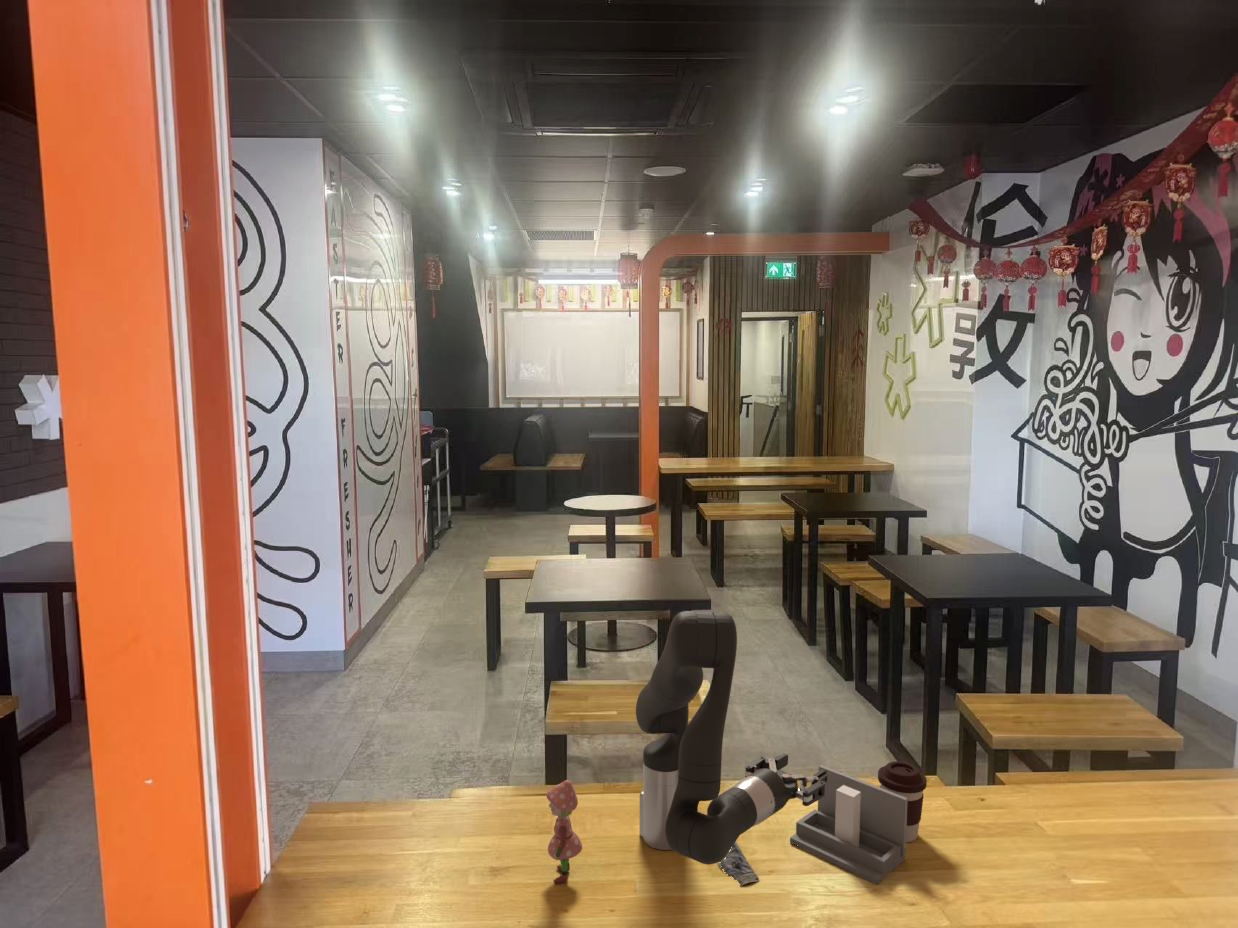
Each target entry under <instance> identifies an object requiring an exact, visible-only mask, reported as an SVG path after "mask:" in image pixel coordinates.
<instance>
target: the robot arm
mask: <svg viewBox="0 0 1238 928" xmlns="http://www.w3.org/2000/svg"><path fill="white" fill-rule="evenodd" d="M737 633H738V632H737V625H736V622H735V620H734V618H733V616H732V615H731V614H729V613H726V612H715V611H714V612H713V611H699V610H695V611H693V610H685V611H684V610H683V611H680V612H678V613H677V614H675V616H674V617H673V618H672V621H671V622H670V626H669V629H668V633H667V636H666V641H665V644H664V648H663V651H662V653H661V656H660V658H659V659H658V661H657V663H656V665H655V666H654V669H653V671H652V674H651V677H650V679H649V681H648V682H647V684H646V685H645V686H644V687H643V688H642V689H641V691H640V692H639V695H638V697H637V700H636V704H635V718H636V722H637V725H638V727H639V728H640V729H641V731H642V732H643V733H646V734H649V735H658V734H660V735H661V734H664V735H662V736H661V737H660V738H658V739H655V740H653V741H650V742H649V743H648V744H646V746H645V747H644V748H643V751H642V752H643V753H642V791H641V792H639V836H641V837H642V839H643V841H644V843H645V844H646V845H647V846H649V847H650V848H652V849H656V850H660V851H661V850H662V851H673V852H674V853H676V854H679V855H680V856H684V857H686V858H688V859H691V860H694V861H696V862H698V863H700V864H703V865H708V866H709V865H714V864H718V862H720V861H721V860H723V859H724V858H725V856H726V855H727V853H728V852H729V850H730V849H731V847H732V846H733V844H734V843H735V842H737V840H738V839H739V837H740V836H741V835H743V834H744V833H746V832H747V831H748V830H750V829H751V828H753V827H755V826H757V825H760V824H761V823H763V822H764V821H766V820H768V819H769V818H770V817H772V816H773V815H774V814H776V813H777V812H779V811H780V810H782V809H783V808H785V806H786V805H787V803H788V802H789V800H792V799H793V800H794V799H799V800H801V801H802V802H801V803H802V806H804V807H809V806H810V805H813V804H814V803H815V802H818V800H819V799H821V798H822V797H824V796H825V783H826V782H827V777H828V774H827V771H826V770H824V769H822V770H820V771H819V770H818V771H817V772H816V773H815V774H813V775H811V776H806V775H805V774H804V773H801V774H792V773H788V772H787V771H785V770H782V769H784V768H785V767H786V766H788V764H789V755H788V754H787V753H782V754H780V755H777V756H776V757H774V758H773V757H772V758H771V757H769V758H768V759H766V757H765V755H763V756H762V755H760V756H758V757H756V758H755V759H754V760H752V761H751V762H749V763H748V764H746V765H745V769H744V772H745V773H744V774H745V775H744V776H745V777H744V778H742V779H741V780H739V781H737V782H736V783H735V784H734V785H733V786H731V787H730V788H729V789H727V790H725V791H724V792H722V793H721V794H720V792H721V782H722V781H721V779H722V778H721V777H722V759H723V758H722V757H723V754H722V753H723V743H724V742H723V740H724V734H725V733H724V731H725V726H726V725H725V724H726V720H727V714H728V709H729V704H730V703H729V702H730V697H731V691H732V685H733V678H734V671H735V664H736V658H737V650H738V649H737V647H738V634H737ZM703 669H713V672H712V678H711V683H710V685H709V689H708V691H707V694H706V695H705V697H704V699H703V701H702V703H701V704H700V706H699V707H698V709H697V711H696V712H695V714H694V715H693V717H692V718H691V720H690V721H689V715H690V713H689V711H690V710H689V704H690V703H692V702H691V701H693V700H694V699H695V697H696V696H697V695H698V693H699V691H700V690H701V687H702V685H703V681H704V670H703ZM798 781H799V782H800V785H799V784H798ZM808 783H811V785H808ZM798 785H799V786H800V787H799V786H798ZM709 801H710V802H709ZM700 802H709V804H708V806H707V811H706V814H705V813H703V812H701V811H698V810H699V809H698V808H699V803H700Z"/></svg>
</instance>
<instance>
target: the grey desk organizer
mask: <svg viewBox="0 0 1238 928" xmlns="http://www.w3.org/2000/svg"><path fill="white" fill-rule="evenodd" d="M822 769H824V770H826V771H827V774H828V777H827V782H826V783H825V796H824V797H822V798H821V799H819V800H817V809H815V808H814V809H813V810H811V811H810V812H808V813H807V814H805V816H803V817H802V818H800V819H799V820H798V821H796V823H795V824H796V825H795V833H794V834H792V835H791V836H790V837H789V844H791V843H793V844H792V845H794V844H795V845H794V846H796V845H798V846H797V847H798V848H800V849H802V848H803V850H804V851H806V850H807V852H808V853H810V854H812V853H813V855H814V856H816V857H818V858H821V859H822V860H824V861H827V862H829V863H831V864H834V865H836V866H837V867H840V868H842V869H844V870H845V871H848V872H850V873H852V874H854V875H856V876H858V877H860V878H863V879H865V880H867V881H869V882H870V883H872V884H875V885H876V886H878V885H879V884H880V883H881V882H883V880H884V879H886V878H887V877H888V876H889V875H890V874H891V873H892V872H894V870H895V869H897V868H898V866H900V865H901V864H902V863H903V862H904V861H905V860H906V853H907V852H906V850H907V846H906V845H907V842H906V827H907V801H908V798H906V797H903V796H901V795H898V794H895V793H893V792H890V791H888V790H885V789H882V788H880V787H879V786H876V785H874V784H872V783H870V782H866V781H864V780H861V779H859V778H856V777H855V776H851V775H849V774H846V773H844V772H841V771H838V770H836V769H833V768H831V767H828V766H825V765H822V764H820V765H819V766H818V772H819V771H820V770H822ZM843 785H845V786H847V787H850V788H852V789H855V790H857V791H860V792H861V801H860V833H859V847H856V846H854V845H852V844H850V843H848V842H845V841H843V840H841V839H839V838H837V837H835V811H836V790H837V789H838V788H840V787H841V786H843Z"/></svg>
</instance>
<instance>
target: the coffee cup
mask: <svg viewBox="0 0 1238 928" xmlns="http://www.w3.org/2000/svg"><path fill="white" fill-rule="evenodd" d="M877 780H878V782H879V783H880V788H882V789H885V790H888V791H890V792H893V793H895V794H898V795H901V796H903V797H906V798H908V801H907V827H906V843H912V842H914V841H916V840H917V838H918V835H919V829H920V822H921V821H922V820H921V819H922V812H923V804H924V790H926V788H927V782H928V781H927V777H926V776H925V774H924V773H922V772H921V771H920V769H919V768H918V767H916V766H915V765H914V764H912V763H909V762H905V761H891V762H888V763H887V764H885V765H884V766H882V767H880V768H879V769H878V771H877Z"/></svg>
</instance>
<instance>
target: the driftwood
mask: <svg viewBox="0 0 1238 928" xmlns="http://www.w3.org/2000/svg"><path fill="white" fill-rule="evenodd" d="M725 857H726V859H723V860H721V861H720V862H721V863H717V865H718V867H719V869H720V870H721V869H724V872H726V873H725V874H724V875H726V874H728V876H727V877H731V876H732V877H733V878H734V879H733V881H735V880H737V881H738V882H737V881H736V882H737V883H738V884H739V887H740V888H741V887H742V886H744V885H746V884H748V883H754V882H756V883H757V882H759V881H760V879H759V877H758V875H757V874H756V872H755V871H754V870H753V868H752V865H750V863H749V862H748V860H747V858H746V856H745V855H744V854H743V852H742V849H741V847H740V846H739V844H738V843H737V841H736V842H735V843H734V844H733V846H732V848H731V851H730V852H728V853H727V855H726V856H725ZM721 866H722V867H721ZM720 867H721V868H720ZM721 872H722V873H723V871H721ZM732 877H731V878H732Z"/></svg>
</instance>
